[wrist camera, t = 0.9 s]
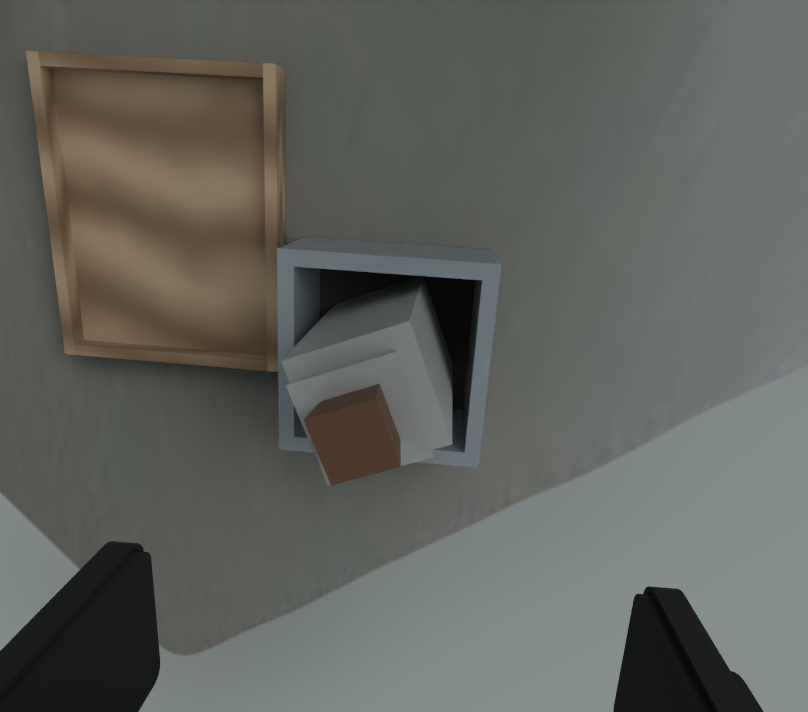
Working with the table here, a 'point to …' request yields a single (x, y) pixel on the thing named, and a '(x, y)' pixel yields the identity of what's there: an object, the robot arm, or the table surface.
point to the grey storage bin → (315, 253)
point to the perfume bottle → (373, 382)
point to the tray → (164, 205)
